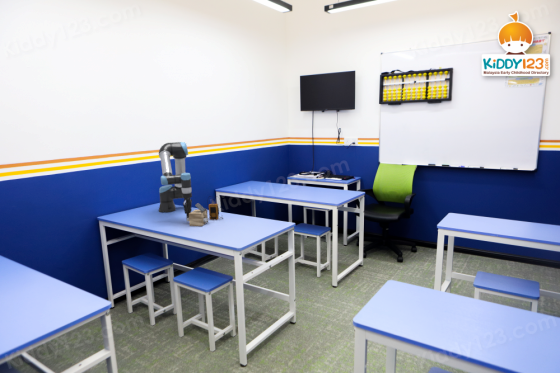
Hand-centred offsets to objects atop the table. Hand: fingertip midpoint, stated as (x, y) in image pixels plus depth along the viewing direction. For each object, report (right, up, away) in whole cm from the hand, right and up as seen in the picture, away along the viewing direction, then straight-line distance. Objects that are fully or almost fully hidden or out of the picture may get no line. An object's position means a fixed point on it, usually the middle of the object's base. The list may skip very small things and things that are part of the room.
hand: (188, 221), depth 284 cm
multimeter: (+19, +1, +15) cm, 24 cm away
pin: (+9, -2, -1) cm, 9 cm away
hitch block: (+8, -2, -1) cm, 9 cm away
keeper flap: (+10, +11, -3) cm, 15 cm away
